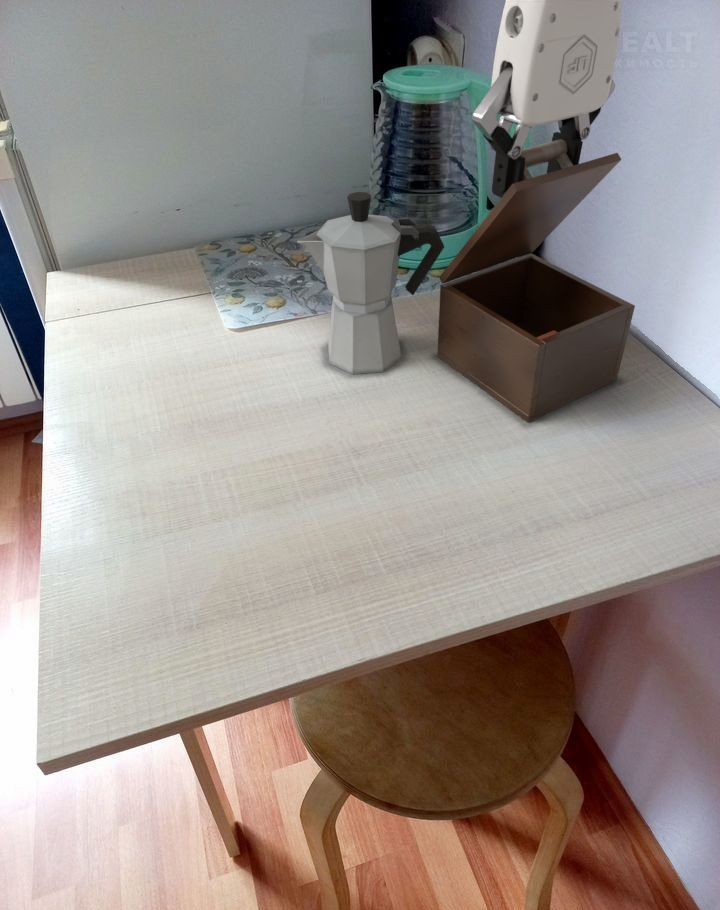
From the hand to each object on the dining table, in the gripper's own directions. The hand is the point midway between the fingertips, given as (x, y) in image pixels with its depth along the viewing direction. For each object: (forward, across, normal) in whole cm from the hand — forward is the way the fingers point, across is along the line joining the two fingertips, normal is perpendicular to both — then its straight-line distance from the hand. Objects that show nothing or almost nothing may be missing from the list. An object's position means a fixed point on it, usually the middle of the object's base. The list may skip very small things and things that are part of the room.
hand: (533, 187), depth 66 cm
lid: (+4, 0, 0) cm, 4 cm away
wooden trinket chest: (+19, 0, -3) cm, 19 cm away
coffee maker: (+19, -12, +9) cm, 25 cm away
